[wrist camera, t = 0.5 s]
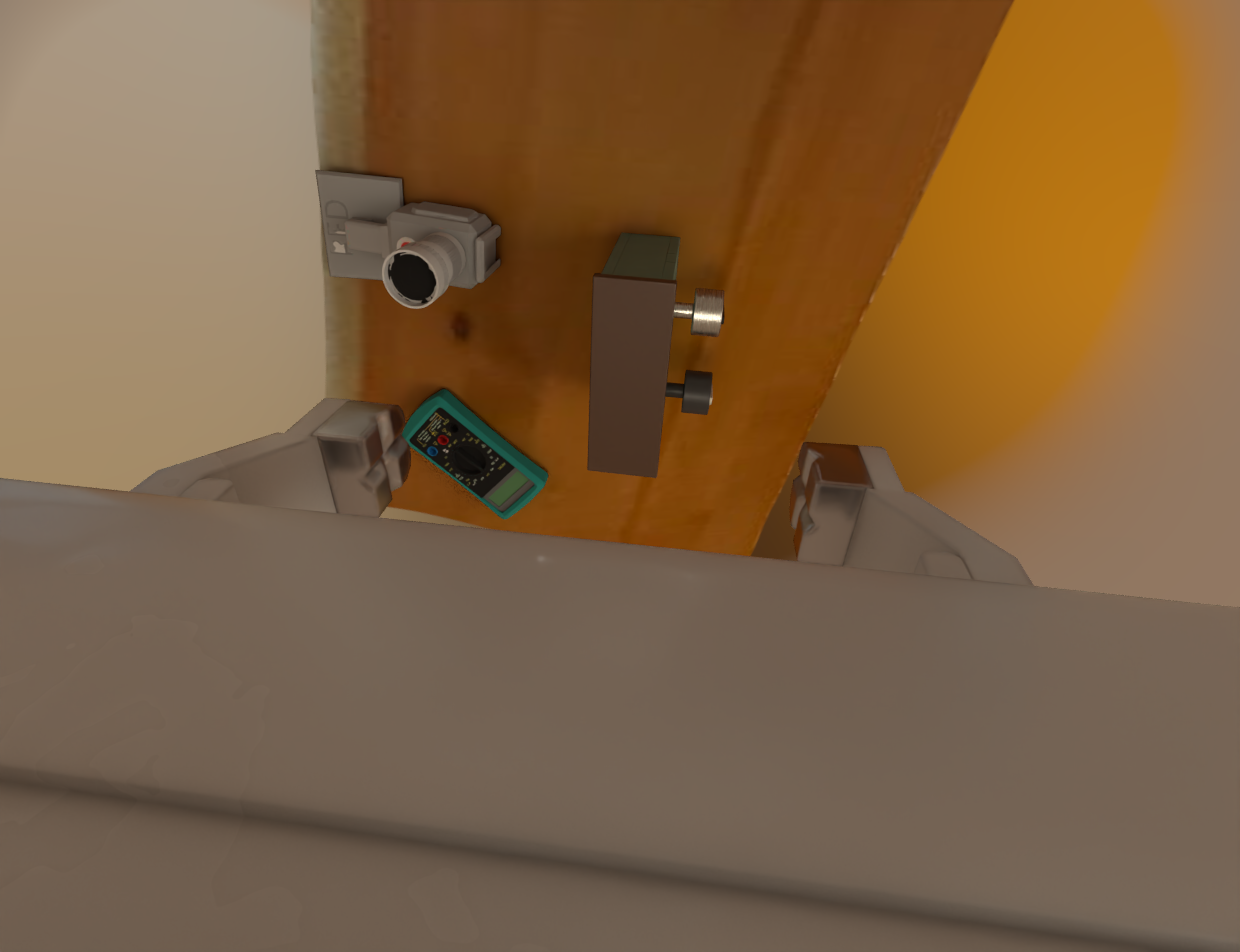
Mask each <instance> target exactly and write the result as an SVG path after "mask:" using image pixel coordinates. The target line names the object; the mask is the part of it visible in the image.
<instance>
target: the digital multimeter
mask: <svg viewBox="0 0 1240 952" xmlns="http://www.w3.org/2000/svg"><path fill="white" fill-rule="evenodd" d="M402 436H403V438H404V439H405V440H406V441H407V442H408V443H409V446H410V447H411V448H413V449H414V450H416V451H417V452H419V453H420V454H421V455H423V456H424V457H426V458H427V459H428V460H429V461H431V462H432V463H433V464H435V465H436V466H437V467H439V468H440V469H441V470H443V471H444V472H445V473H447V474H448V475H449V476H450V477H452V478H453V479H454V480H456V481H457V482H458V483H459V484H461V485H462V486H463V487H464V488H466V489H467V490H468V491H470V492H471V493H472V494H473V495H475V496H476V497H477V498H478V499H479V500H481V501H482V502H483V503H484V504H485V505H486V506H488V507H489V508H490V509H491V510H492V511H494V512H495V513H496V514H497V515H498V516H499V517H501V518H502V519H508V518H509V517H511V516H512V515H513V514H515V513H516V512H518V511H519V510H520V509H521V508H523V507H524V506H525V505H526V504H527V503H529V502H530V501H531V500H532V499H533V498H534V497H535V496H536V495H537V494H538V493H539V491H540V490H541V489H542V488H543V487H544V486H545V483H546V481H547V478H548V474H547V472H545V471H544V470H543V469H541V468H540V467H539V466H537V465H536V464H535V463H533V462H532V461H531V460H529V459H528V458H527V457H525V456H524V455H523V454H522V453H520V452H519V451H518V450H516V449H515V448H514V447H513V446H511V445H510V444H509V443H508V442H507V441H505V440H504V439H503V438H502V437H500V436H499V435H498V434H497V433H496V432H494V431H493V430H492V429H491V428H490V427H488V426H487V425H486V424H485V423H484V422H483V421H481V420H480V419H479V418H478V417H477V416H476V415H474V414H473V413H472V412H471V411H470V410H469V409H467V408H466V407H465V406H464V405H463V404H462V403H461V402H460V401H459V400H458V399H456V398H455V397H454V396H453V395H452V394H451V393H450V392H449V391H448V390H446V389H442V390H441V391H439V392H437V393H436V394H434V395H432V396H431V397H430V398H428V399H427V400H426V401H424V402H423V403H422V404H421V405H420V407H419V408H418V409H417V410H416V411H415V412H414V413H413V415H412V416H411V417H410V419H409V420H408V422H407V424H406V426H405V428H404V430H403V433H402Z"/></svg>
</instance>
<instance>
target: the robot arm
mask: <svg viewBox="0 0 1240 952" xmlns="http://www.w3.org/2000/svg"><path fill="white" fill-rule="evenodd" d="M405 426H406V423H405V418H404V414H403V410H402V409H401V408H400V407H399V406H398V405H392V404H383V403H373V402H364V401H355V400H350V399H334V398H324V399H323V400H322V401H321V402H320V403H319V404H317V405H316V406H315V407H314V408H313V409H312V410H311V411H309V412H308V413H307V414H306V415H305V416H304V417H302V418H301V419H300V420H299V421H298V422H297V423H295V424H294V425H293V426H292V427H291V428H290V429H288V430H287V431H286V432H285V433H274V434H271V435H268V436H265V437H262V438H258V439H255V440H252V441H249V442H246V443H243V444H239V445H237V446H234V447H231V448H227V449H224V450H221V451H218V452H215V453H211V454H208V455H205V456H202V457H199V458H196V459H193V460H190V461H186V462H183V463H180V464H177V465H174V466H171V467H167V468H164V469H161V470H158V471H156V472H155V473H154V474H152V475H151V476H150V477H148V478H147V479H145V480H144V481H143V482H142V483H140V484H139V485H137V486H136V487H135V488H134V489H132V490H131V491H129V492H128V491H118V490H109V489H99V488H88V487H80V486H70V485H61V484H50V483H42V482H31V481H22V480H13V479H3V478H0V952H1240V607H1231V606H1220V605H1210V604H1200V603H1190V602H1181V601H1171V600H1162V599H1152V598H1143V597H1134V596H1124V595H1115V594H1105V593H1096V592H1086V591H1076V590H1067V589H1057V588H1048V587H1038V586H1034V585H1033V584H1032V582H1031V580H1030V579H1029V577H1028V575H1027V574H1026V572H1025V570H1024V569H1023V567H1022V566H1021V564H1020V562H1019V561H1018V559H1017V558H1016V557H1014V556H1013V555H1011V554H1009V553H1008V552H1006V551H1005V550H1003V549H1001V548H1000V547H998V546H997V545H995V544H994V543H992V542H990V541H989V540H987V539H985V538H984V537H982V536H981V535H979V534H978V533H976V532H974V531H973V530H971V529H970V528H968V527H966V526H965V525H963V524H962V523H960V522H959V521H957V520H955V519H954V518H952V517H951V516H949V515H947V514H946V513H944V512H943V511H941V510H939V509H938V508H936V507H935V506H933V505H931V504H930V503H928V502H926V501H925V500H923V499H922V498H920V497H919V496H917V495H916V494H914V493H910V492H905V491H904V489H903V487H902V485H901V483H900V480H899V478H898V476H897V474H896V472H895V470H894V467H893V465H892V463H891V461H890V459H889V456H888V454H887V452H886V450H885V449H884V448H882V447H873V446H871V447H870V446H858V445H845V444H830V443H815V442H804V443H803V445H802V447H801V450H800V454H799V458H798V464H799V470H800V475H799V476H798V477H797V478H796V479H795V480H793V485H792V491H791V496H790V506H789V510H790V511H789V512H790V522H791V526H792V527H793V528H794V529H796V531H795V535H794V540H793V541H794V546H795V551H796V557H797V561H789V560H779V559H768V558H760V557H750V556H741V555H731V554H721V553H712V552H702V551H693V550H683V549H673V548H664V547H654V546H645V545H635V544H625V543H616V542H606V541H597V540H587V539H577V538H568V537H558V536H549V535H539V534H530V533H520V532H511V531H501V530H492V529H482V528H473V527H463V526H454V525H444V524H435V523H425V522H416V521H406V520H396V519H387V518H379V517H380V515H381V514H382V513H383V511H384V510H385V509H386V507H387V506H388V504H389V503H390V502H391V500H392V494H391V491H393V490H395V489H397V488H399V487H401V486H402V485H403V484H404V482H405V481H406V479H407V477H408V473H409V470H410V466H411V453H410V446H409V443H408V442H407V441H406V440H405V439H404V438H403V436H402V435H401V432H402V430H403V429H404V427H405Z"/></svg>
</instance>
